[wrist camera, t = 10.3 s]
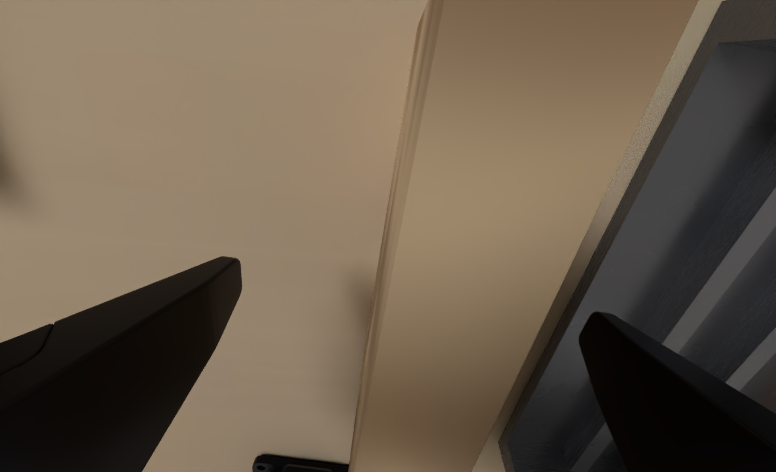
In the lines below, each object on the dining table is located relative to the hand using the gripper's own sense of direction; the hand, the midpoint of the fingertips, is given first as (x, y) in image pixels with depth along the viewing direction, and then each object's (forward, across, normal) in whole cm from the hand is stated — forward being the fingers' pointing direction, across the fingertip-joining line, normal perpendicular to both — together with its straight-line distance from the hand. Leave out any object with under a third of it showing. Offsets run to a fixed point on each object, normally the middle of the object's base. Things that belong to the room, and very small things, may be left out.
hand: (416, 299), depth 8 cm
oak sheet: (+4, 0, 0) cm, 5 cm away
